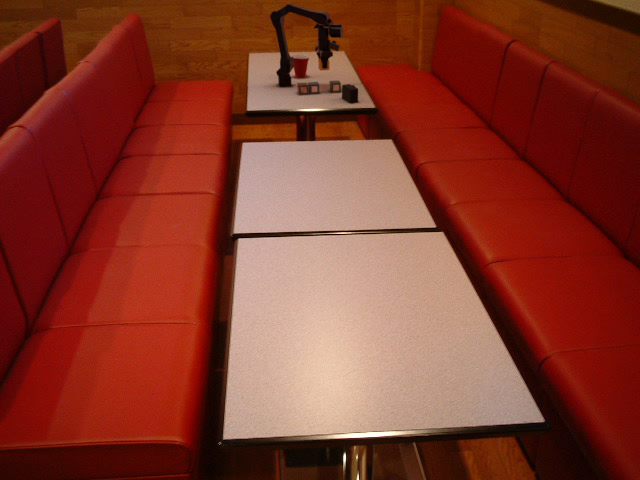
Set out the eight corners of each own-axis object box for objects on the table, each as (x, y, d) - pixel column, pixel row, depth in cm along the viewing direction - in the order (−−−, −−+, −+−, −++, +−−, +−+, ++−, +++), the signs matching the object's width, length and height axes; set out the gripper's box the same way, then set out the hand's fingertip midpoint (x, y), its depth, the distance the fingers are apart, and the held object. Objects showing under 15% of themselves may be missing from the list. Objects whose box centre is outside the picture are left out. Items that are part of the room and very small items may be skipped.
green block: (331, 92, 336) (331, 83, 334) (329, 90, 341) (329, 81, 338) (340, 92, 337) (340, 82, 335) (338, 89, 341) (338, 80, 339)
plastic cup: (313, 77, 367) (313, 56, 361) (298, 80, 362) (297, 58, 356) (303, 73, 375) (303, 52, 369) (288, 76, 370) (287, 55, 364)
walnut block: (299, 94, 333) (298, 85, 331) (297, 92, 338) (297, 83, 336) (308, 94, 334) (308, 84, 332) (306, 91, 339) (306, 82, 336)
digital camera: (360, 102, 320) (360, 88, 316) (350, 103, 318) (350, 89, 315) (351, 97, 328) (351, 83, 325) (342, 98, 326) (342, 84, 323)
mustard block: (320, 70, 338) (320, 61, 336) (318, 68, 343) (318, 59, 340) (329, 70, 339) (329, 60, 337) (327, 67, 343) (327, 58, 341)
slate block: (310, 94, 334) (309, 84, 332) (308, 91, 339) (308, 82, 337) (319, 93, 335) (319, 84, 333) (317, 91, 340) (317, 81, 337)
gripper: (342, 39, 326) (342, 70, 333) (334, 33, 342) (334, 62, 350) (321, 40, 324) (321, 71, 332) (314, 34, 340) (314, 64, 348)
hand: (323, 67), depth 340 cm, fingers closed on mustard block, 5 cm apart
